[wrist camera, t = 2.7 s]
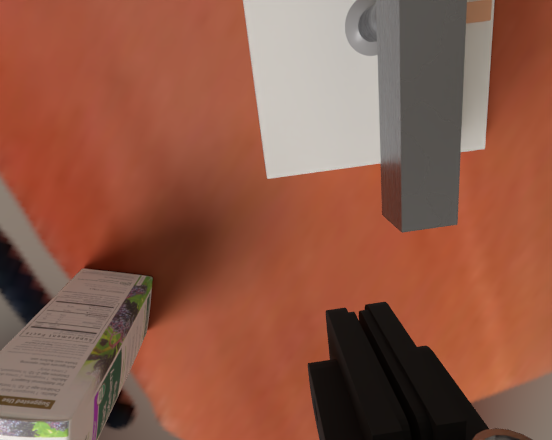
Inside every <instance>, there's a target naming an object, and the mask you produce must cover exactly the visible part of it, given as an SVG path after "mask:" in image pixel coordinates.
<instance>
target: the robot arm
mask: <svg viewBox="0 0 552 440" xmlns="http://www.w3.org/2000/svg"><path fill="white" fill-rule="evenodd" d="M326 323H327V333H328V344H329V355H330V360H327V361H321V362H314V363H308V373H309V381H310V389H311V396H312V403H313V409H314V414H315V419H316V424H317V429H318V434H319V439H320V440H532V439H531V438H529V437H527V436H525V435H523V434H521V433H518V432H515V431H511V430H508V429H499V428H493V429H489V428H488V427H487V425H486V424H485V423H484V421H483V420H482V419H481V417H480V416H479V414H478V413H477V412H476V410H475V409H474V407H473V406H472V405H471V403H470V402H469V401H468V399H467V398H466V396H465V395H464V394H463V392H462V391H461V390H460V388H459V387H458V385H457V384H456V383H455V381H454V380H453V379H452V377H451V376H450V374H449V373H448V372H447V370H446V369H445V368H444V366H443V365H442V363H441V362H440V361H439V359H438V358H437V357H436V355H435V354H434V352H433V351H432V350H431V349H430V348H429V347H428V346H420V347H416V345H415V344H414V342H413V341H412V339H411V338H410V336H409V335H408V333H407V332H406V330H405V329H404V327H403V326H402V324H401V323H400V321H399V320H398V318H397V317H396V315H395V314H394V312H393V311H392V309H391V308H390V307H389V305H388V304H387V303H386V302H380V303H374V304H367V305H365V310H362V311H359V320H358V318H357V316H356V314H355V312H349V313H348V311H347V309H346V308H340V309H333V310H326Z"/></svg>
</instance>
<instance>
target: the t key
mask: <svg viewBox="0 0 552 440" xmlns="http://www.w3.org/2000/svg"><path fill="white" fill-rule="evenodd" d="M466 12H467V0H376V3H375V4H373V5H372V6H371V7H369V8H368V9H367V10H365V11H364V12H363V13H362V15H361V16H360V18H359V22H358V30H359V33H360V35H361V37H362V38H363V39H364V40H366V41H368V42H376V41H377V55H378V89H379V123H380V157H381V191H382V215H383V216H384V217H385V218H386V219H387V220H388V221H390V222H391V223H392V224H393V225H394V226H395V227H396V228H397V229H399V230H400V231H401V232H408V231H415V230H422V229H429V228H436V227H443V226H450V225H457V221H458V198H459V175H460V151H461V128H462V105H463V82H464V58H465V35H466Z"/></svg>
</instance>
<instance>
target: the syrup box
mask: <svg viewBox="0 0 552 440" xmlns="http://www.w3.org/2000/svg"><path fill="white" fill-rule="evenodd" d="M152 280H153V278H152V277H151V276H144V275H137V274H128V273H120V272H112V271H102V270H93V269H84V268H83V269H82V270H80V271H79V272H78V273H77V274H76V276H74V278H73V279H72V280H71V281H70V282H69V283H68V284H66V286H65V287H64V288H62V290H61V291H60V292H59V293H58V294H57V295H56V296H55V297H54V298H53V299H52V300H51V301H50V302H49V303H48V304H47V305H46V306H45V307H44V308H43V309H42V310H41V311H40V312H39V313H38V314H37V315H36V316H35V317H34V318H33V319H32V320H31V321H30V322H29V323H28V324H27V325H26V326H25V327H24V328H23V329H22V330H21V331H20V332H19V333H18V334H17V335H16V336H15V337H14V338H13V339H12V340H11V341H10V342H9V343H8V344H7V345H6V346H5V347H4V348H3V349H2V350H1V351H0V440H98V438H99V436H100V434H101V431H102V429H103V427H104V425H105V423H106V421H107V419H108V416H109V414H110V412H111V410H112V408H113V406H114V404H115V402H116V399H117V397H118V395H119V393H120V391H121V389H122V386H123V384H124V382H125V380H126V378H127V376H128V373H129V371H130V369H131V367H132V365H133V363H134V360H135V358H136V356H137V354H138V351H139V349H140V347H141V344H142V342H143V340H144V337H145V335H146V333H147V328H148V321H149V314H150V304H151V292H152Z"/></svg>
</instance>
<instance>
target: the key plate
mask: <svg viewBox="0 0 552 440" xmlns="http://www.w3.org/2000/svg"><path fill="white" fill-rule="evenodd" d="M494 2H495V0H467V12H466V35H465V58H464V82H463V105H462V128H461V151H460V152H466V151H473V150H480V149H485V140H486V125H487V109H488V94H489V79H490V63H491V48H492V32H493V17H494ZM375 3H376V0H243V5H244V13H245V20H246V27H247V35H248V42H249V50H250V57H251V64H252V72H253V79H254V87H255V94H256V101H257V109H258V116H259V124H260V131H261V138H262V146H263V153H264V161H265V168H266V175H267V179H270V178H277V177H285V176H292V175H299V174H306V173H314V172H321V171H328V170H335V169H343V168H350V167H357V166H364V165H372V164H379V163H381V157H380V123H379V89H378V55H377V41H376V42H368V41H366V40H364V39H363V38H362V37H361V35H360V33H359V30H358V22H359V18H360V16H361V15H362V13H363V12H364V11H365V10H367V9H368V8H369V7H371V6H372V5H373V4H375Z"/></svg>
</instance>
